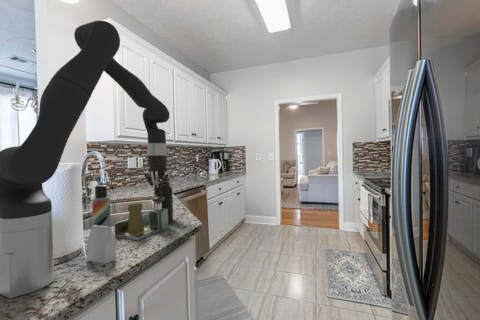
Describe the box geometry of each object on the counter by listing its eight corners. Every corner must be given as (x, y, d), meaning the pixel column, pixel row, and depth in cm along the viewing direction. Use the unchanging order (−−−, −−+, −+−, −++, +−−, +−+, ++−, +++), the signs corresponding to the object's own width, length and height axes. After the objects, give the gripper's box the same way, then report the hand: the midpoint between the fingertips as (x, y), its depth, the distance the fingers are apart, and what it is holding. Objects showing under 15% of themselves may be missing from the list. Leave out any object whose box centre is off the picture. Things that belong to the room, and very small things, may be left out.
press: (138, 241, 83) (138, 218, 83) (115, 236, 88) (114, 215, 88) (169, 227, 97) (169, 209, 97) (147, 224, 102) (147, 206, 102)
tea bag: (105, 264, 66) (104, 229, 65) (87, 260, 68) (86, 227, 67) (115, 258, 69) (114, 225, 69) (99, 255, 71) (98, 223, 71)
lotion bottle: (95, 236, 88) (94, 184, 88) (112, 234, 90) (111, 183, 89) (91, 241, 83) (89, 186, 82) (109, 239, 85) (107, 185, 84)
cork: (137, 233, 86) (136, 204, 86) (123, 232, 88) (122, 204, 88) (147, 228, 92) (146, 201, 92) (134, 227, 94) (133, 200, 93)
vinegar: (157, 223, 104) (156, 179, 104) (158, 219, 111) (157, 177, 110) (172, 222, 106) (171, 178, 105) (173, 218, 113) (172, 177, 112)
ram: (159, 219, 92) (158, 199, 92) (150, 218, 94) (149, 198, 94) (167, 216, 97) (166, 196, 97) (158, 215, 99) (158, 196, 99)
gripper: (138, 154, 94) (139, 197, 95) (163, 154, 89) (164, 199, 89) (152, 154, 101) (153, 194, 102) (176, 154, 96) (177, 195, 96)
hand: (158, 196), depth 95 cm, fingers closed
